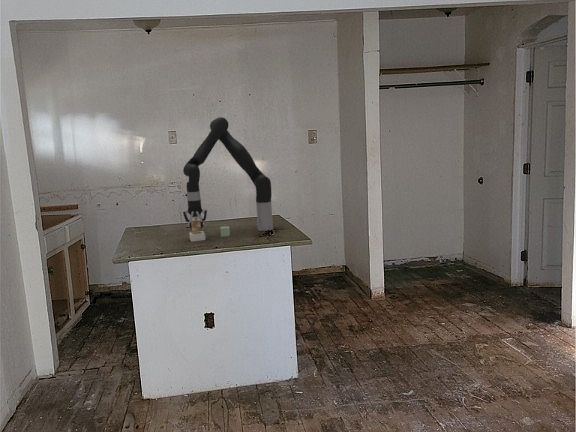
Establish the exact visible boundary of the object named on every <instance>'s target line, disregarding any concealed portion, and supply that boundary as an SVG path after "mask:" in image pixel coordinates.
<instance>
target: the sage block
mask: <svg viewBox="0 0 576 432" xmlns="http://www.w3.org/2000/svg"><path fill="white" fill-rule="evenodd" d="M230 230H231V229H230V226H220V237H221V238H223V237H231V231H230Z"/></svg>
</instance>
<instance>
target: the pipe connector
mask: <svg viewBox="0 0 576 432" xmlns="http://www.w3.org/2000/svg"><path fill="white" fill-rule="evenodd" d="M193 219H194V221H199V220H198V219H199V217H193ZM187 226H188V227H190V225H189V223H188V225H187ZM204 226H206V224H205V222H203V227H204ZM195 232H199V231H195Z"/></svg>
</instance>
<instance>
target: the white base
mask: <svg viewBox="0 0 576 432" xmlns="http://www.w3.org/2000/svg"><path fill="white" fill-rule="evenodd" d="M189 240H190V241H191V242H198V241H199V242H200V241H206V233H205V231H204V230H201V231H199V232H196V231H190V232H189Z"/></svg>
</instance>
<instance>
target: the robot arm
mask: <svg viewBox="0 0 576 432" xmlns="http://www.w3.org/2000/svg"><path fill="white" fill-rule="evenodd" d="M229 124H230V123H229V121H228V120H227V118H225V117H222V116H221V117H220V116H219V117H217V118H214V119H213V120H212V121H211V122H210V124H209V129H210V132H209V133H208V135H207V136H206V137H205V139H204V140H203V141H202V143H201V144H200V145H199V146H198V148H197V149H196V151H195V152H194V154H193V156H191V158H190V159H189V160H188V161H187V162H186V164H185V165H184V166H183V170H182V171H183V174H184V175H185V176H186V177H188V181H187V182H186V202H187V210H186V211H183V212H182V213H183V216H184V221H185V223H188V224H189V225H190V226H189V225H188V226H189V228H190V230H192V226H191V222H192V221H193V219H194V217H197V218H198V219H199V220H200V221H201V222H200V224H201V228H202V229H203V228H204V226H203V223H204V221H206V220H207V214H208V210H207V209H203V207H202V200H201V191H200V177H201V170H200V167H199V166H201V165H203V164H204V163H205V162H206V160H207V158H208V157H209V155H210V153H211V151H212V150H213V149H214V147H215V145H216V144H217V142H218V141H220V142H221V143H222V144H223V146H224V148H225V149H226V150H227V151H228V153H229V154H230V155H231V157H232V158H233V160H234V161H235V162H236V164H238V165H239V167H240V168H241V170H242V171H244V172H245V173H246V175H247V176H248V177H249V179H250V180H251V181H252V183H253V185H254V187H255V193H256V195H255V203H256V204H255V206H256V219H257V230H258V231H259V232H266V231H267V232H268V230H269V231H273V230H274V220H273V209H272V208H273V207H272V197H273V196H272V182H271V179H270V178H269V177H268V176H267V175H265V174H264V173H263V172H262V171H261V170H260V169H259V167H258V166H257V165H256V163H255V160H254V159H253V157H252V155H251V154H250V152H249V151H248V150H247V148H246V146H244V145H243V144H242V143H241V142H240V141H238V140H237V139H235V138H234V137H233V136H232V134H231V133H230V132H229V130H228V129H229ZM202 214H203V217H202ZM187 215H190V217H188V216H187Z"/></svg>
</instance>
